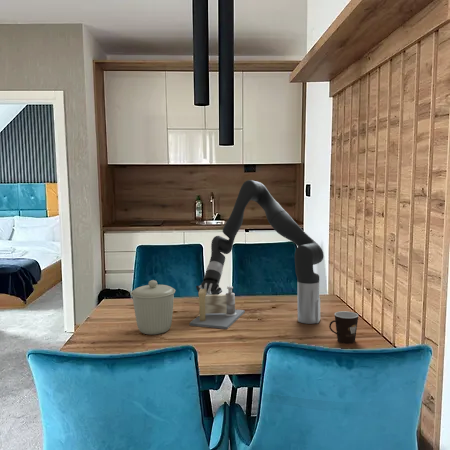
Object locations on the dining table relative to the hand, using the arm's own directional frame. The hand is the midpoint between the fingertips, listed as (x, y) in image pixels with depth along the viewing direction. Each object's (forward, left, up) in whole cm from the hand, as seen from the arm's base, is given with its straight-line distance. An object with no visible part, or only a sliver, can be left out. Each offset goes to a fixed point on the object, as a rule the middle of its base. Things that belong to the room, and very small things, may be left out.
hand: (204, 305), depth 202 cm
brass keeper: (-2, +6, -5) cm, 8 cm away
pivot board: (-7, +2, -5) cm, 9 cm away
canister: (+12, +24, -5) cm, 27 cm away
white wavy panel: (-7, -1, -3) cm, 7 cm away
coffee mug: (-62, +14, -5) cm, 63 cm away
